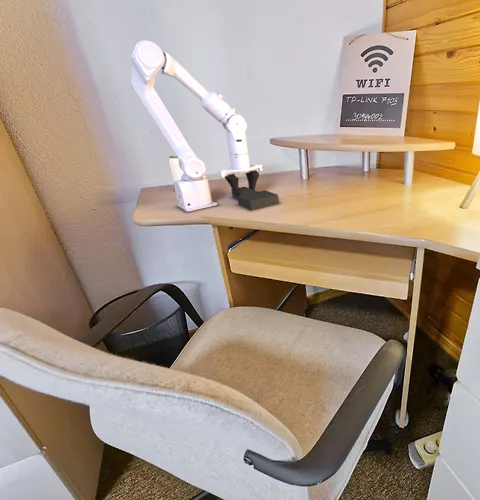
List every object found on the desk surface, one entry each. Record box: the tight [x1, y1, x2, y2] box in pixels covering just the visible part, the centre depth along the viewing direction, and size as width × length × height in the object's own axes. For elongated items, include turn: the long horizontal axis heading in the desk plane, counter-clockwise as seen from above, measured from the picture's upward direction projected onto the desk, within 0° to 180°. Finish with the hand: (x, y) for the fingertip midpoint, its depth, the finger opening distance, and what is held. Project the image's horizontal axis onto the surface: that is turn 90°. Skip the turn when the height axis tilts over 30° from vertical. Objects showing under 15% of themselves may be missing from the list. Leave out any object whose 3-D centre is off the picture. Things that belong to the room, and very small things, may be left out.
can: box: [168, 154, 183, 183], centre depth 117 cm, size 6×6×12 cm
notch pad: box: [237, 189, 280, 211], centre depth 102 cm, size 10×8×3 cm
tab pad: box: [231, 186, 259, 201], centre depth 107 cm, size 5×11×3 cm, turn 45°
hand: (245, 194), depth 108 cm, fingers closed on tab pad, 5 cm apart
